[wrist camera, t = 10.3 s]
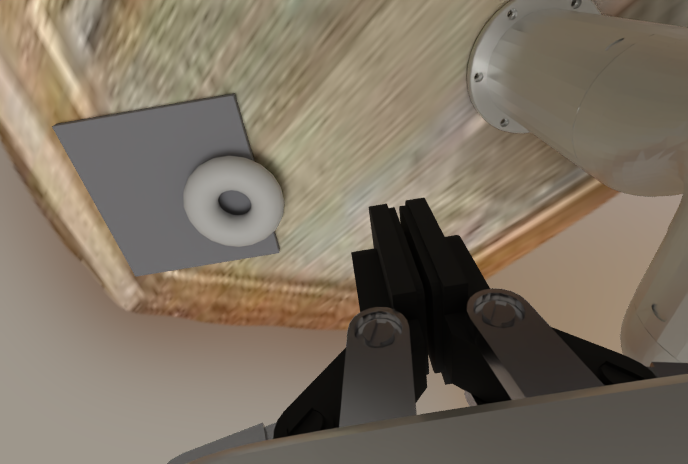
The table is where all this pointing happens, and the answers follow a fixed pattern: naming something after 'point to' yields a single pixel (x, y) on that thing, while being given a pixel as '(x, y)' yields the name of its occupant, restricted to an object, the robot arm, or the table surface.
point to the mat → (160, 179)
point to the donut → (237, 177)
